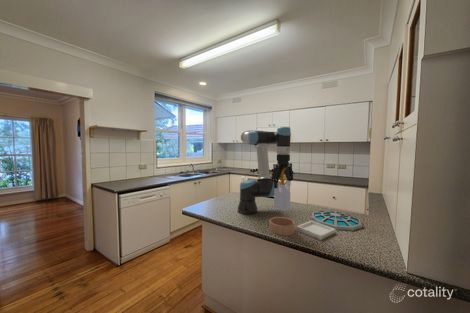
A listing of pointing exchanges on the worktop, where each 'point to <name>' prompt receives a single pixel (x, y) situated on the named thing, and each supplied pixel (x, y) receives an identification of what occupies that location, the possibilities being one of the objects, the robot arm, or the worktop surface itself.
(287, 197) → the soap bottle
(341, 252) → the worktop surface
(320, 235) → the tray
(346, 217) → the decorative platform
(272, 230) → the holder ring
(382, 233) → the worktop surface
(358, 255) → the worktop surface
